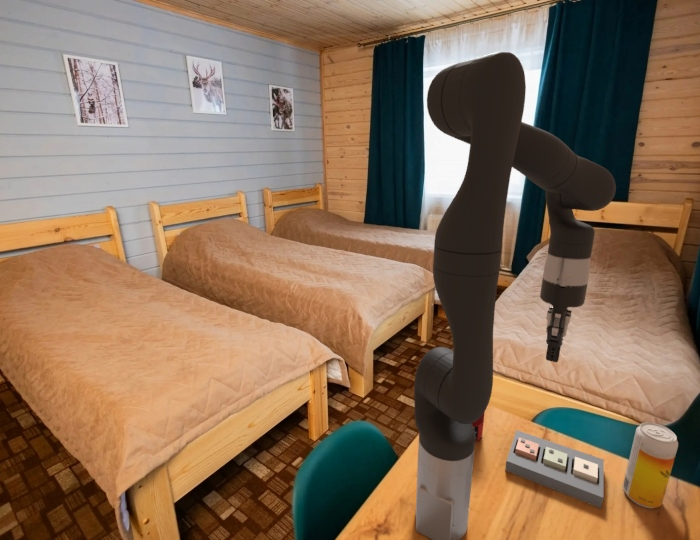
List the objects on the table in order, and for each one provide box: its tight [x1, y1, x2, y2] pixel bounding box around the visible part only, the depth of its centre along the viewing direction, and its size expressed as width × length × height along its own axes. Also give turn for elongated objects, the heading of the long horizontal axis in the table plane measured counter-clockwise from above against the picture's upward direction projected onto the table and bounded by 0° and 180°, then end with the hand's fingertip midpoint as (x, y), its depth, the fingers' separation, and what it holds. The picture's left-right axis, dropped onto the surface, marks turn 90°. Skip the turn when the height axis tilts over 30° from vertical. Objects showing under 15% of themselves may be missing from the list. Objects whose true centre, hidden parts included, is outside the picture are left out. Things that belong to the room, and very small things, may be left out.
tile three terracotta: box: [515, 437, 539, 461], centre depth 82 cm, size 4×4×3 cm
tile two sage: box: [542, 447, 567, 472], centre depth 79 cm, size 4×4×3 cm
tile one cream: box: [571, 457, 598, 483], centre depth 76 cm, size 4×4×3 cm
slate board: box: [505, 429, 605, 509], centre depth 79 cm, size 11×17×2 cm, turn 57°
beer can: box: [622, 421, 679, 509], centre depth 71 cm, size 6×6×15 cm
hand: (551, 359), depth 77 cm, fingers closed
